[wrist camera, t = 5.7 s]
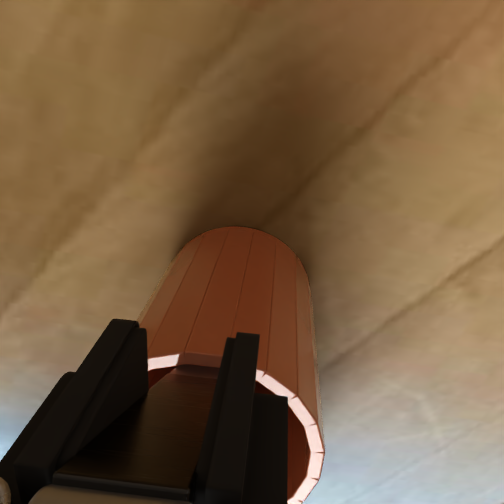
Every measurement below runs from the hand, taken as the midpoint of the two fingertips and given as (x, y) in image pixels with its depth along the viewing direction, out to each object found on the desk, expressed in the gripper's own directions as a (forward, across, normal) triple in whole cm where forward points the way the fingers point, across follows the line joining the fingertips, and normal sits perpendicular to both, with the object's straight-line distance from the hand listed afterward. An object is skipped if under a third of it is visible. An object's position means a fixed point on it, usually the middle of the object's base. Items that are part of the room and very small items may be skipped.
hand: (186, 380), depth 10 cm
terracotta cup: (+14, 0, +5) cm, 15 cm away
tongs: (+13, 0, +4) cm, 14 cm away
